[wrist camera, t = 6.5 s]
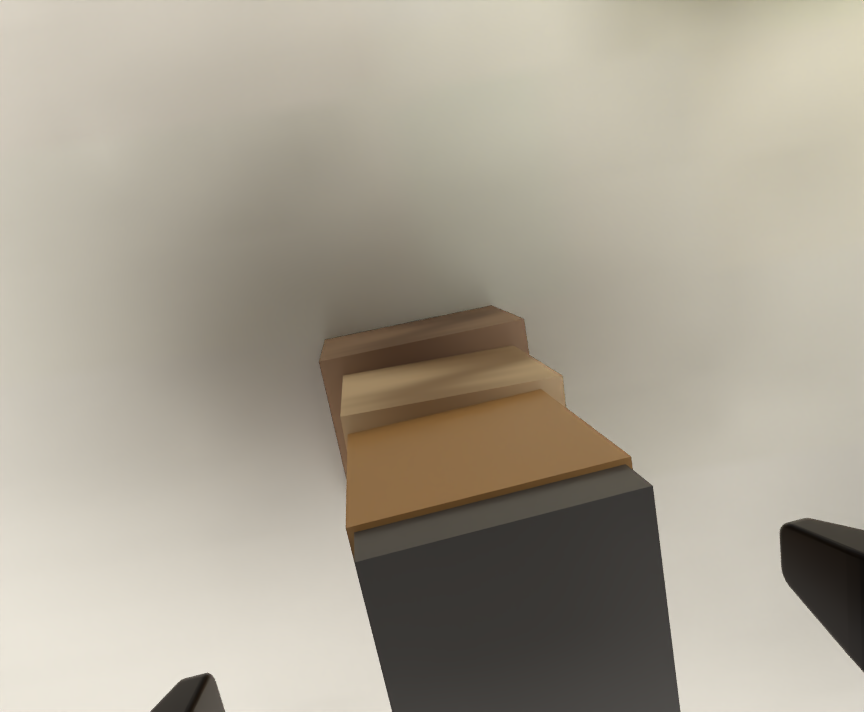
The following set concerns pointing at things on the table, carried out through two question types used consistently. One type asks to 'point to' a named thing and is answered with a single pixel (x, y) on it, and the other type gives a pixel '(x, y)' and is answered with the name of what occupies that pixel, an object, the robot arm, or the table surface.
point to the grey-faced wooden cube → (509, 563)
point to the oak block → (441, 386)
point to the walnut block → (414, 348)
